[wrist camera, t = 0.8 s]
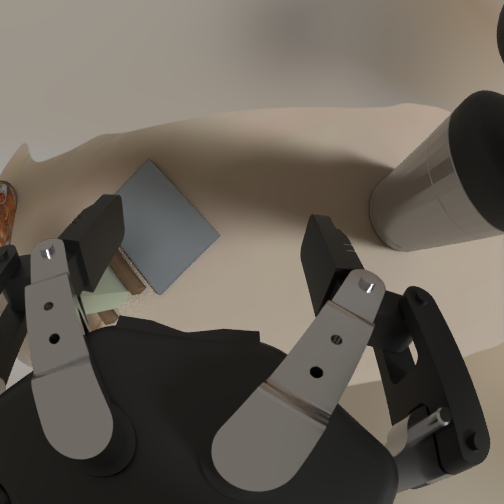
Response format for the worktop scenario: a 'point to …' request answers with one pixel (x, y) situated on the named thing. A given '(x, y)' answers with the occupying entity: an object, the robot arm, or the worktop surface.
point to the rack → (129, 281)
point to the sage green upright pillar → (105, 293)
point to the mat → (161, 227)
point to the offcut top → (94, 320)
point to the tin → (7, 212)
